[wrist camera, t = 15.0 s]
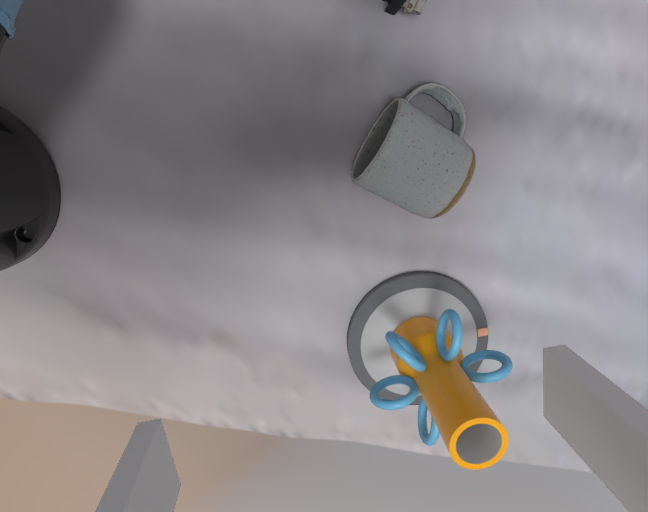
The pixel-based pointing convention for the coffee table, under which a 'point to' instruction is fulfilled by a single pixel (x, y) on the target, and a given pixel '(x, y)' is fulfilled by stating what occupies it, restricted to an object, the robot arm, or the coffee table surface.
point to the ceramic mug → (417, 156)
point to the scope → (405, 6)
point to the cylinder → (446, 389)
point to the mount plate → (400, 305)
